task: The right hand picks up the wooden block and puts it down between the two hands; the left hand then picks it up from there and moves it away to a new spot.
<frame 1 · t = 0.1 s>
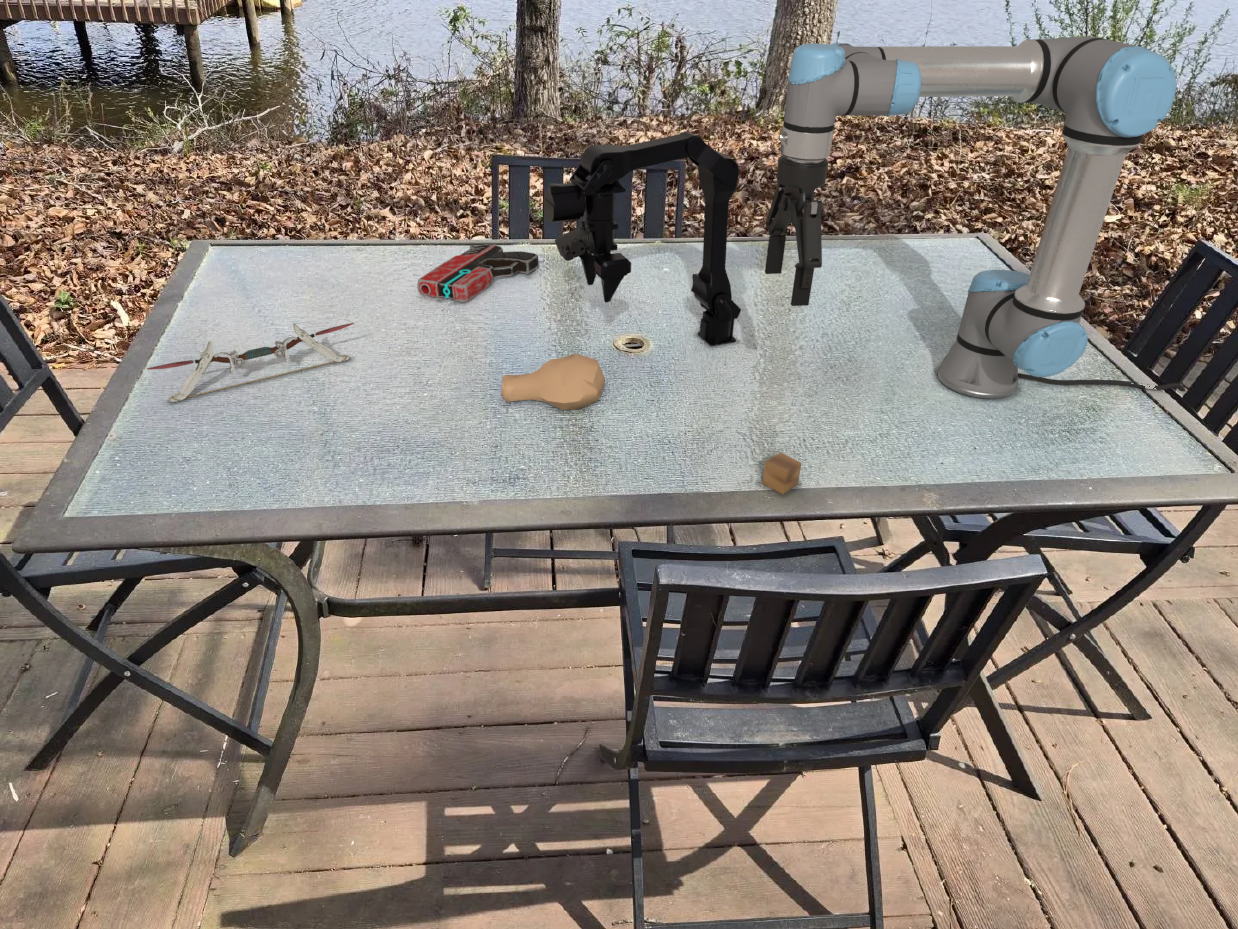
left hand: (598, 293, 176), 15 cm above the table, tool pointing down, fingers open, 9 cm apart
right hand: (785, 288, 145), 28 cm above the table, tool pointing down, fingers open, 13 cm apart
gun: (480, 281, 217), on the table
bow: (263, 380, 172), on the table
squash: (553, 401, 168), on the table
block: (779, 484, 147), on the table
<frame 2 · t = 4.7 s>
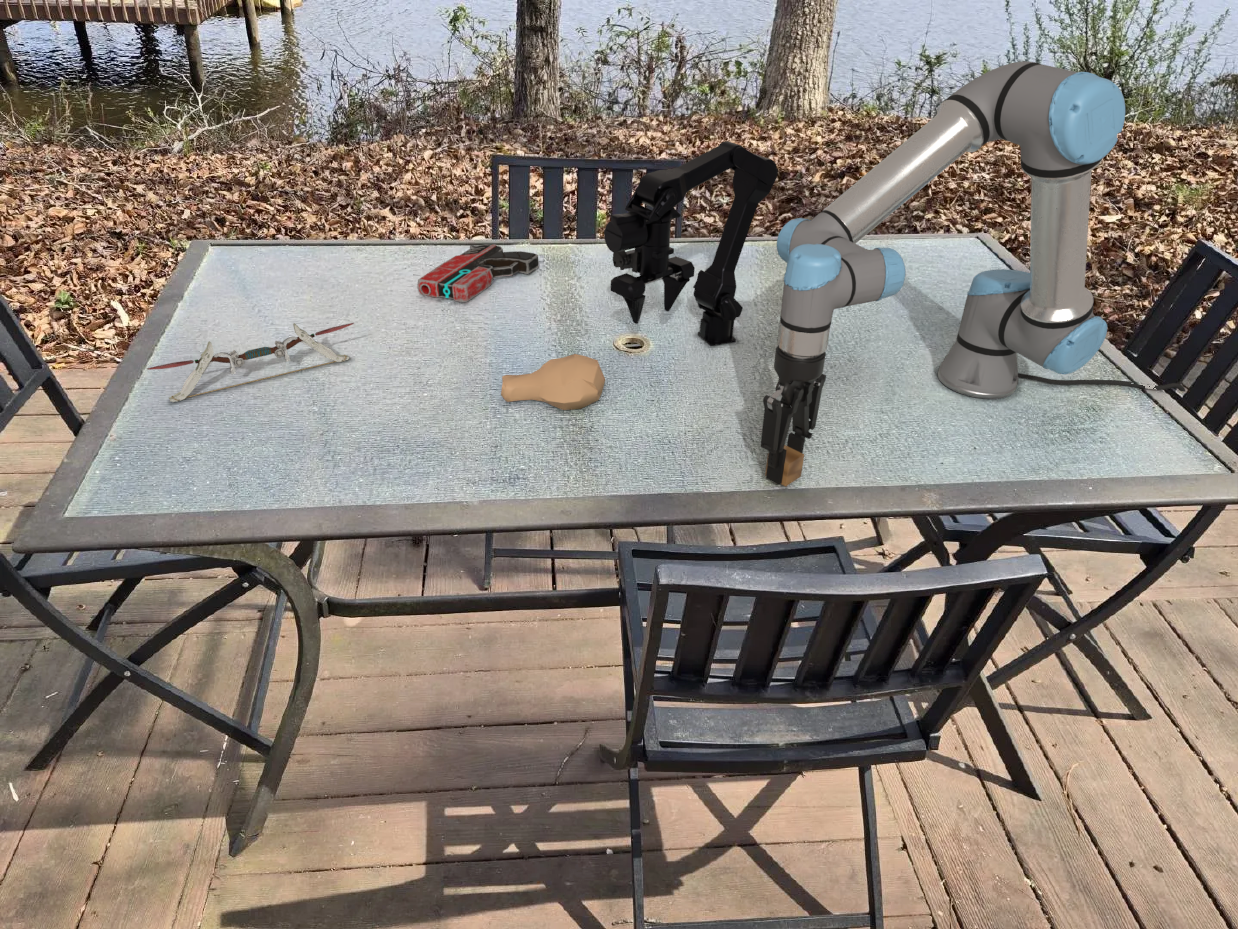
left hand: (651, 316, 179), 10 cm above the table, tool pointing down, fingers open, 9 cm apart
right hand: (782, 474, 146), 2 cm above the table, tool pointing down, fingers closed on block, 4 cm apart
block: (782, 476, 146), point 2 cm above the table, touching right hand
everything else where it was.
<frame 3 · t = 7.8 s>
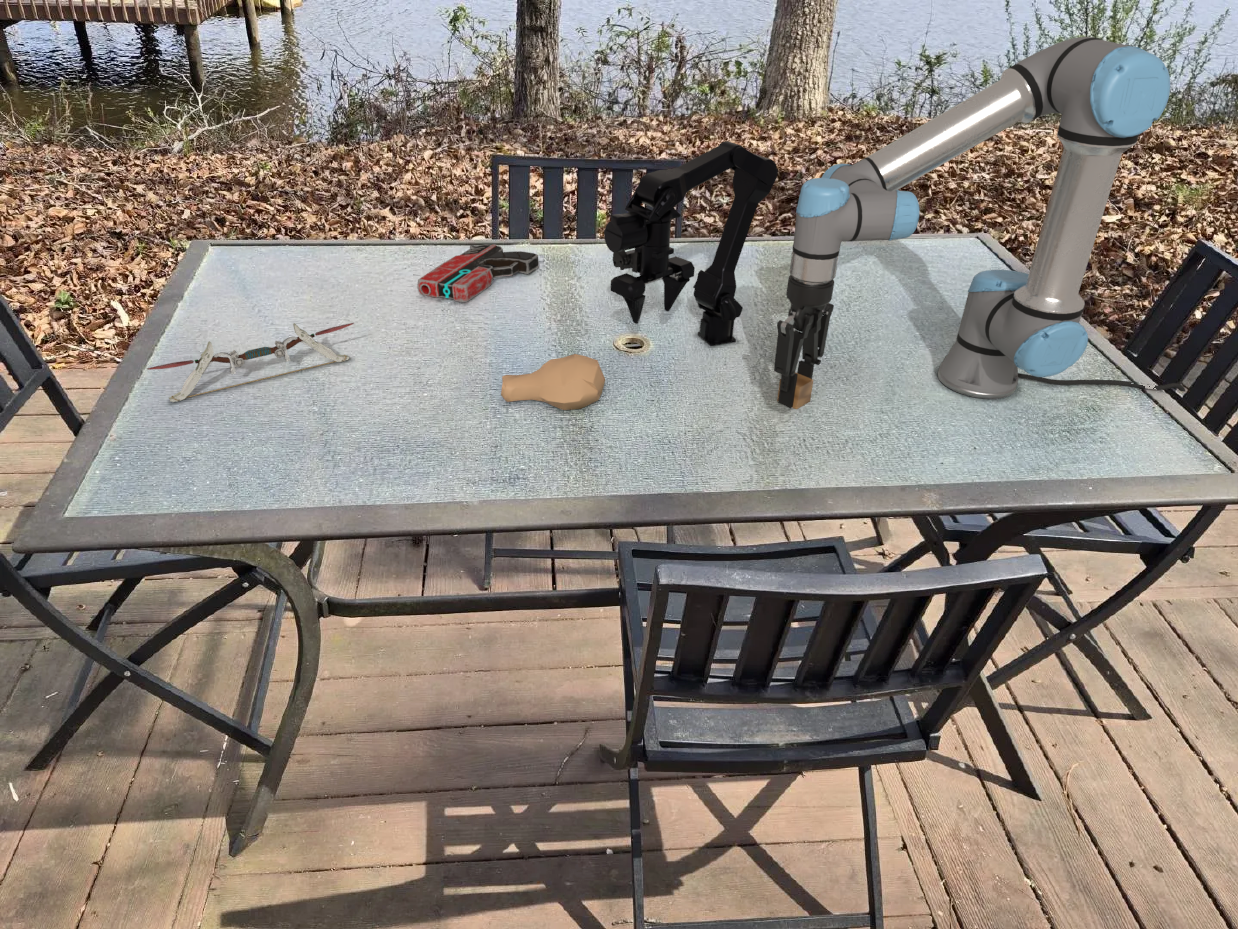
left hand: (651, 316, 179), 10 cm above the table, tool pointing down, fingers open, 9 cm apart
right hand: (793, 399, 158), 7 cm above the table, tool pointing down, fingers closed on block, 4 cm apart
block: (793, 401, 158), point 6 cm above the table, touching right hand
everything else where it was.
when the right hand's fingers open (0 cm above the table, at t = 11.1 s): block stays where it is, on the table.
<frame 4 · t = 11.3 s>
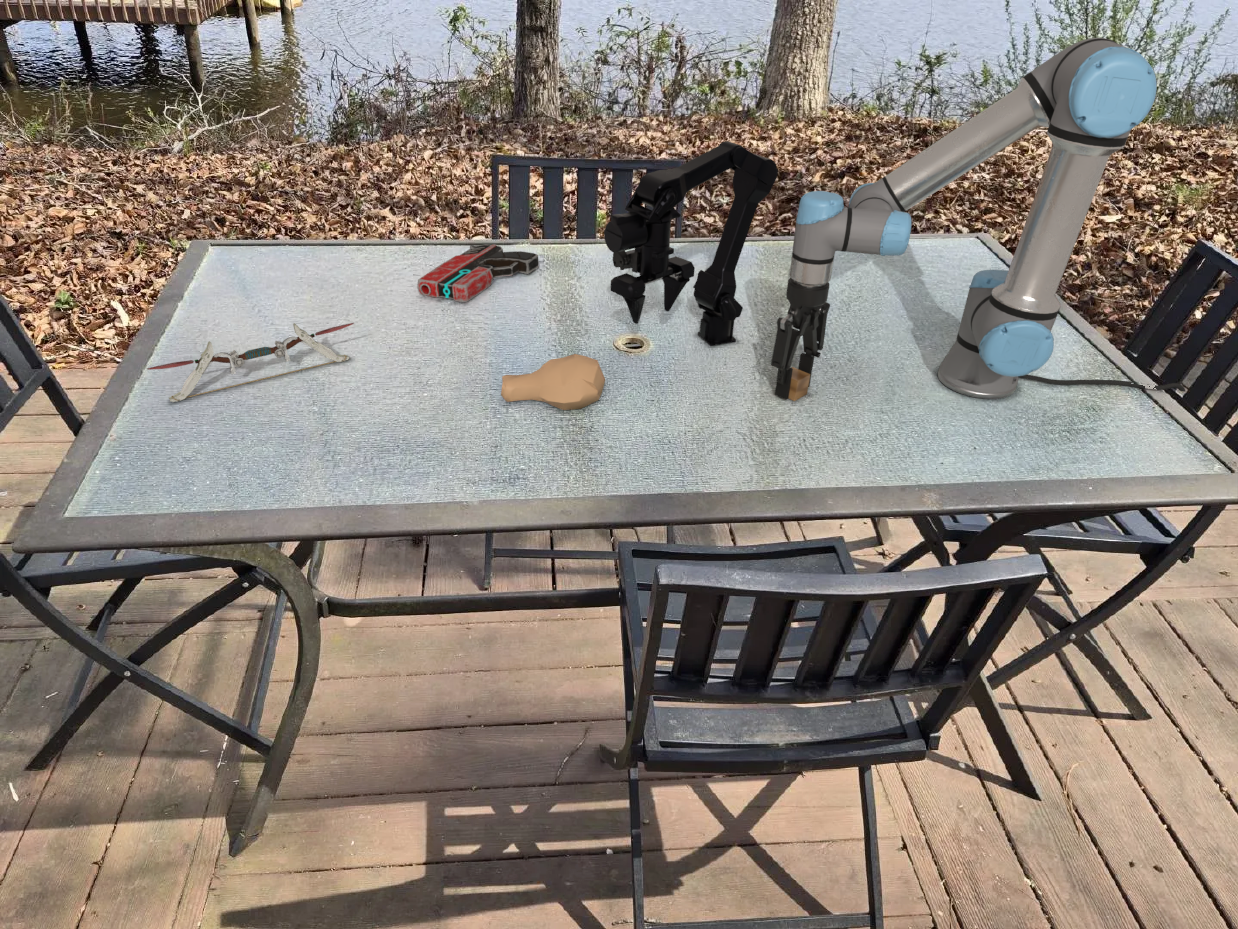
left hand: (651, 316, 179), 10 cm above the table, tool pointing down, fingers open, 9 cm apart
right hand: (792, 390, 173), 1 cm above the table, tool pointing down, fingers open, 6 cm apart
block: (791, 393, 173), on the table
everything else where it was.
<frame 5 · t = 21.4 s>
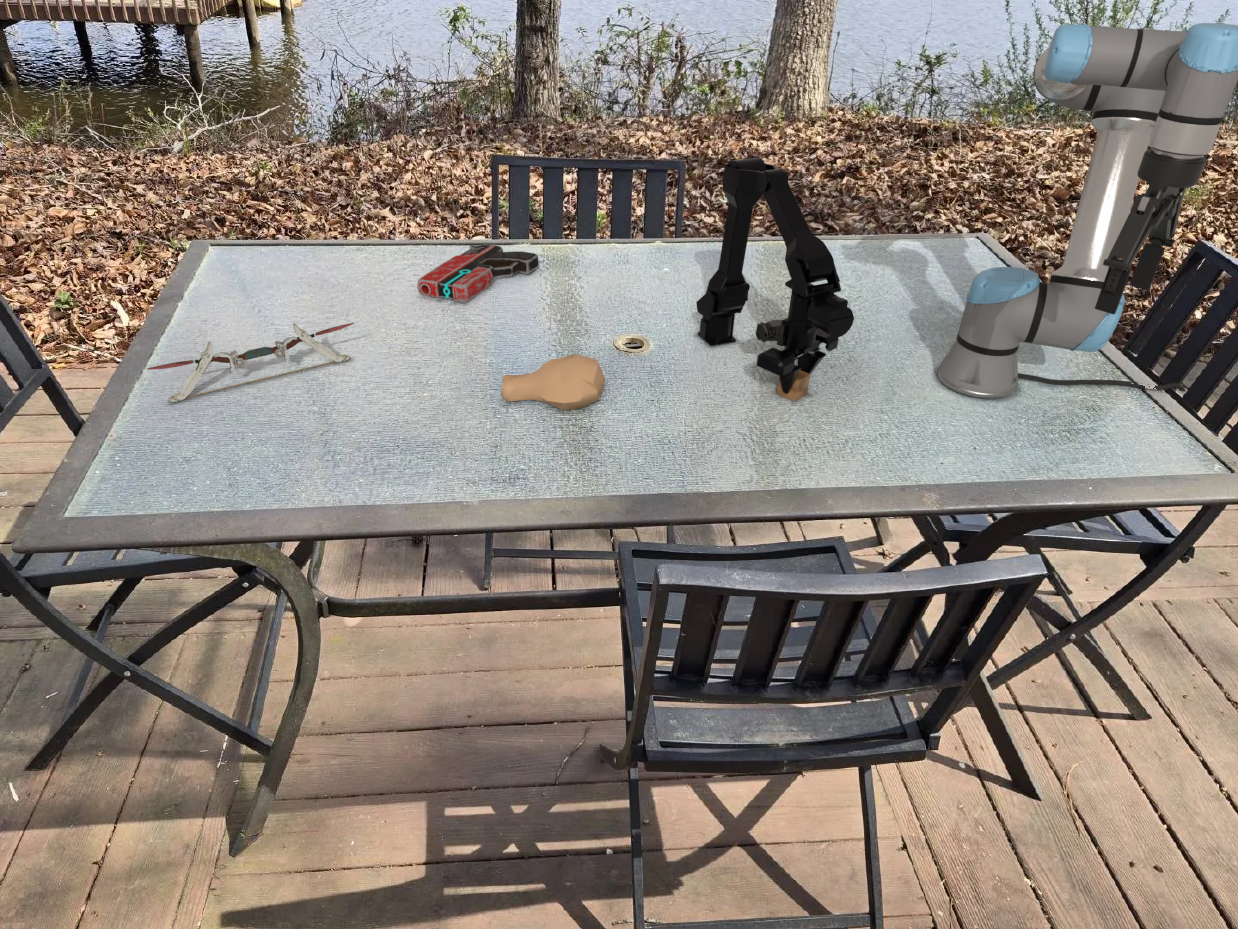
left hand: (792, 389, 173), 1 cm above the table, tool pointing down, fingers closed on block, 4 cm apart
right hand: (1122, 298, 130), 34 cm above the table, tool pointing down, fingers open, 13 cm apart
block: (791, 393, 173), on the table, touching left hand
everything else where it was.
when the left hand's fingers open (2 cm above the table, at t = 30.3 s): block stays where it is, on the table.
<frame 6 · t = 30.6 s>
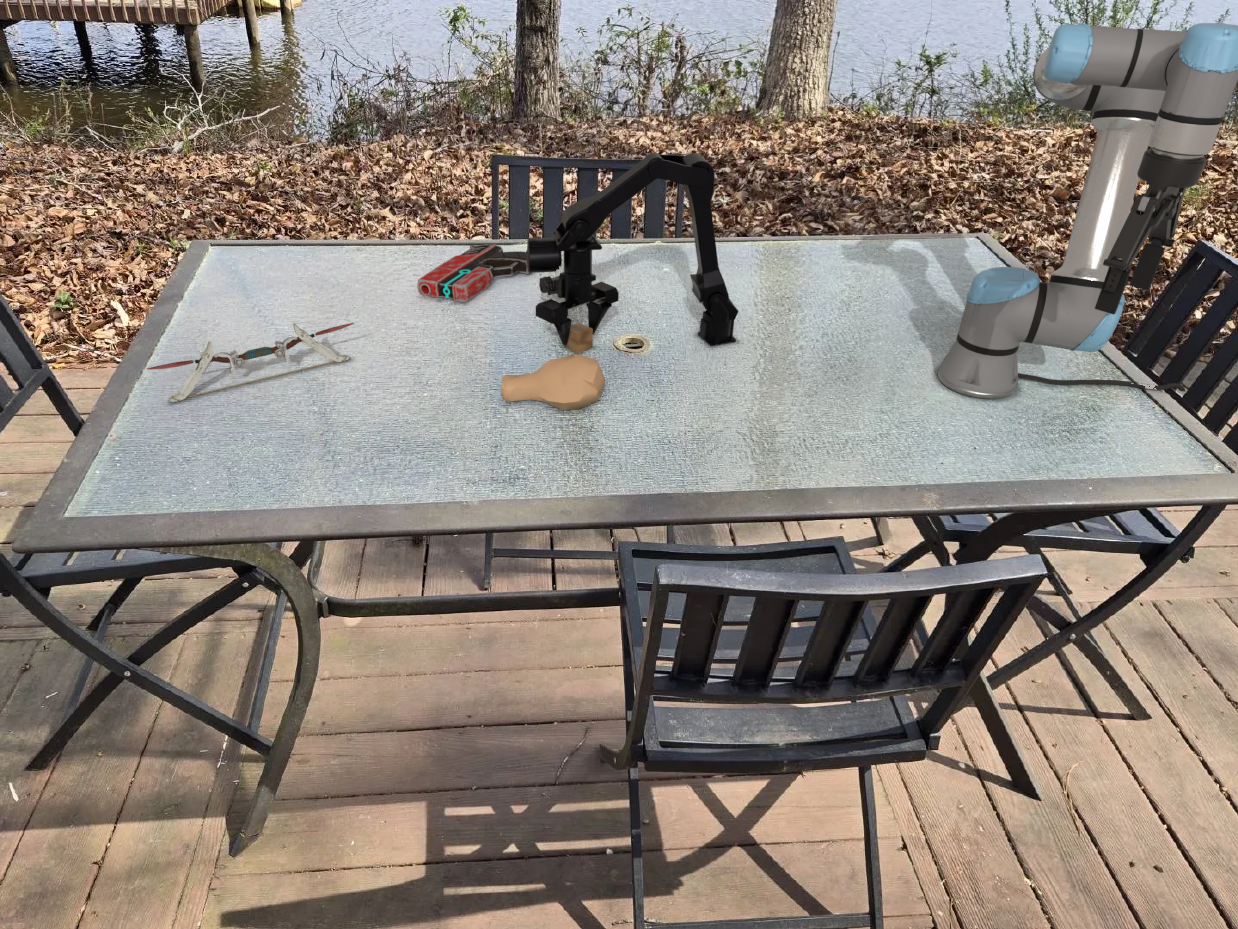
left hand: (578, 339, 187), 2 cm above the table, tool pointing down, fingers open, 7 cm apart
right hand: (1122, 298, 130), 34 cm above the table, tool pointing down, fingers open, 13 cm apart
block: (578, 347, 188), on the table
everything else where it was.
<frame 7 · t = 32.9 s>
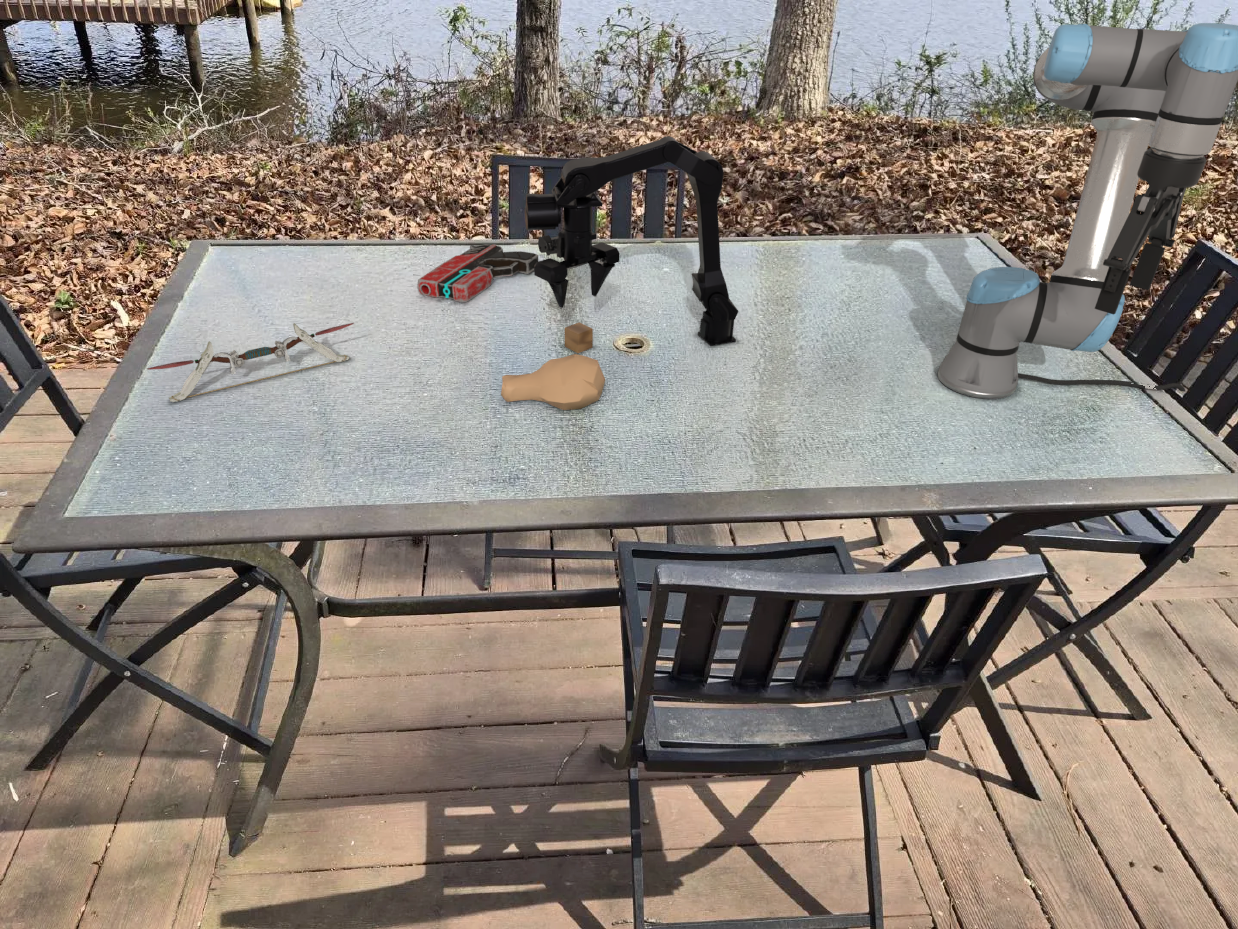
left hand: (577, 301, 182), 10 cm above the table, tool pointing down, fingers open, 9 cm apart
right hand: (1122, 298, 130), 34 cm above the table, tool pointing down, fingers open, 13 cm apart
nothing on the table moved.
at the end: block inside the target area (0.1 cm from its centre), on the table; block tilted 0°; the two hands never held the block at the same time; the left hand is holding nothing; the right hand is holding nothing; block at rest at the end (0.0 cm/s) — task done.
